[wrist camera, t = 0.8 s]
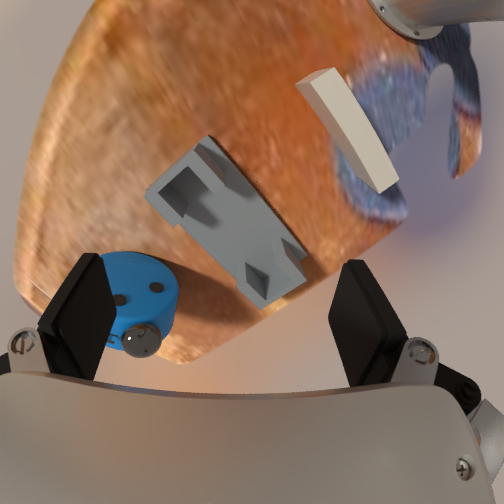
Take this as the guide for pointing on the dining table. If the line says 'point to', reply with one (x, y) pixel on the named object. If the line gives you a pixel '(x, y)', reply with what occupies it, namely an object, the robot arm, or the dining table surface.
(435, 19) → the robot arm
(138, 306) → the alarm clock
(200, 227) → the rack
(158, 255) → the dining table surface
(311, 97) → the light grey rectangular block
